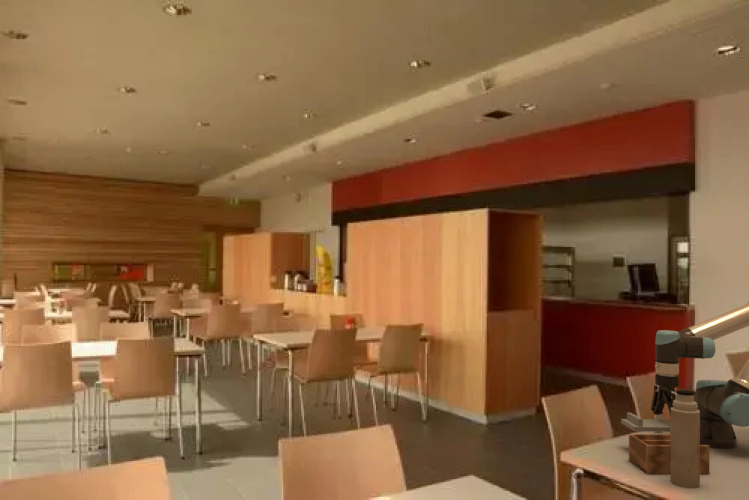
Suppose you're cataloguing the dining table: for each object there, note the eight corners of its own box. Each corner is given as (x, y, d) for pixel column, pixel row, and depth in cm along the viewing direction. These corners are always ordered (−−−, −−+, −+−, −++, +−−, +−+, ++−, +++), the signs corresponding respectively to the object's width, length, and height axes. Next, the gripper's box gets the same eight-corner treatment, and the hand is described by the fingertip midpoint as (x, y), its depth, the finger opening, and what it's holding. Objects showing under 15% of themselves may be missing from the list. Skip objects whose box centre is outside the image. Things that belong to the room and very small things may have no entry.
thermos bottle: (700, 481, 187) (700, 390, 187) (698, 490, 180) (698, 394, 180) (672, 476, 191) (672, 387, 191) (668, 484, 184) (669, 391, 185)
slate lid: (664, 423, 221) (664, 412, 221) (679, 431, 211) (680, 420, 211) (621, 423, 220) (621, 412, 221) (634, 431, 210) (634, 419, 210)
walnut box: (687, 461, 206) (687, 434, 206) (709, 474, 193) (709, 445, 193) (628, 461, 206) (628, 434, 206) (647, 474, 193) (647, 445, 193)
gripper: (641, 368, 227) (640, 428, 227) (673, 380, 205) (672, 446, 204) (661, 368, 228) (660, 428, 227) (695, 380, 205) (694, 447, 205)
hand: (666, 437), depth 216 cm, fingers closed on slate lid, 10 cm apart
